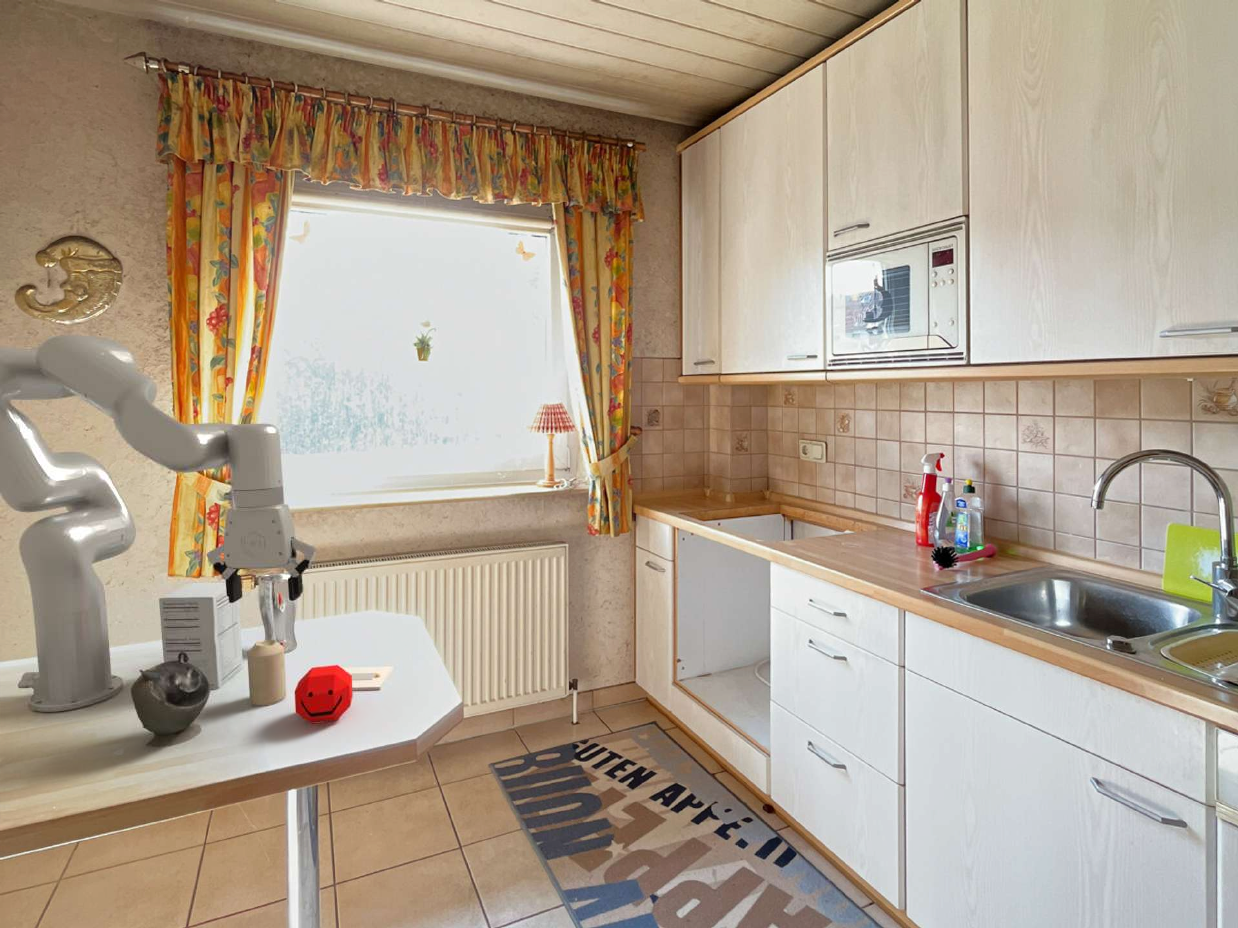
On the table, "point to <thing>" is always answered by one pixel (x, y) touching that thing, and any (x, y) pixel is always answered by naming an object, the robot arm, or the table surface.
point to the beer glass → (277, 610)
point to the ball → (323, 694)
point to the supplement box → (203, 630)
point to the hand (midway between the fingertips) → (265, 599)
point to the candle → (266, 673)
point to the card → (369, 677)
